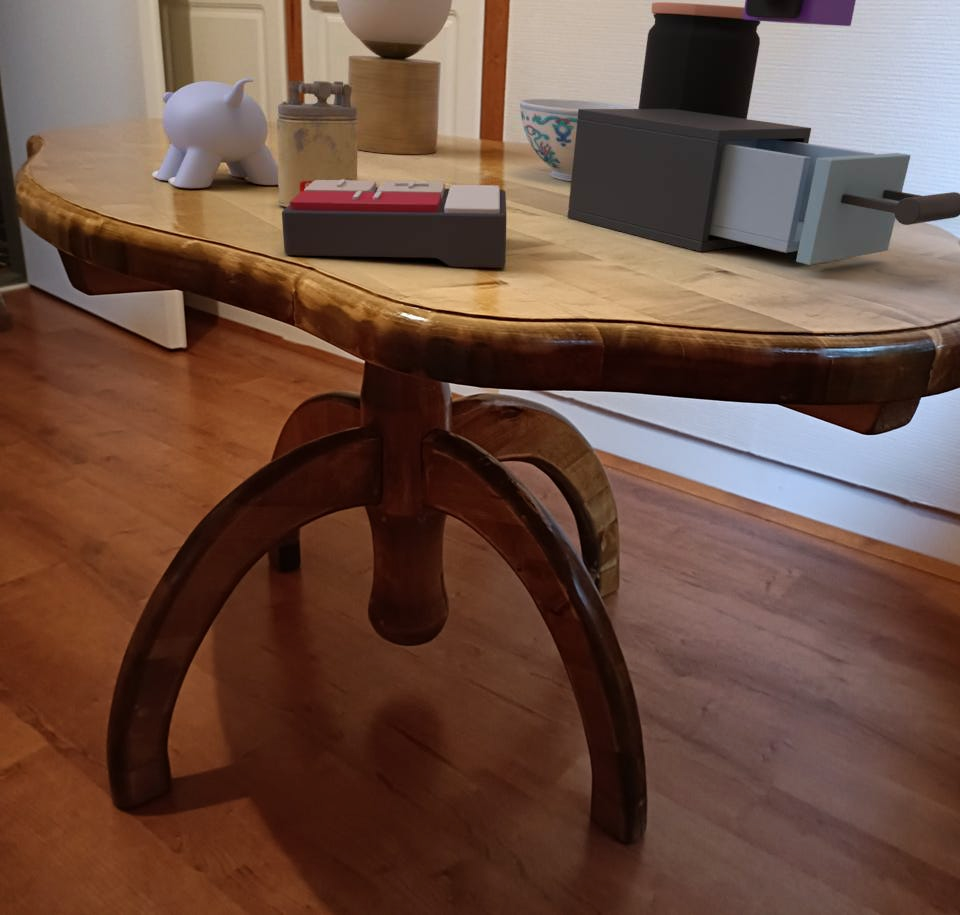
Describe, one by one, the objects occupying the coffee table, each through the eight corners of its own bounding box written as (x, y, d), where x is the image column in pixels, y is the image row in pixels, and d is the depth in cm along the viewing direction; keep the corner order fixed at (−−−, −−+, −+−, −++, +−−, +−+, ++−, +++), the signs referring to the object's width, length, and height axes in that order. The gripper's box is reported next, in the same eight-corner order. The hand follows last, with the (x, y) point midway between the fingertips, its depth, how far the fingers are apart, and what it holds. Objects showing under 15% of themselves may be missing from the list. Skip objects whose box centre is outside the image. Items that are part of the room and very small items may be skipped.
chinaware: (519, 184, 101) (525, 106, 97) (510, 164, 114) (515, 95, 111) (660, 193, 101) (671, 116, 98) (634, 172, 115) (643, 104, 112)
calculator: (309, 175, 73) (505, 178, 73) (312, 232, 75) (504, 235, 75) (279, 199, 63) (507, 203, 63) (283, 264, 65) (505, 268, 65)
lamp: (332, 136, 128) (332, -77, 118) (436, 141, 131) (446, -66, 121) (337, 151, 115) (339, -88, 104) (454, 156, 117) (466, -76, 107)
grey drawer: (961, 267, 72) (989, 166, 69) (887, 284, 65) (914, 173, 62) (745, 219, 85) (760, 132, 82) (663, 229, 78) (676, 135, 75)
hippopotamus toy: (234, 165, 99) (230, 66, 96) (302, 189, 89) (300, 79, 85) (130, 168, 93) (121, 63, 89) (189, 195, 83) (182, 76, 79)
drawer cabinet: (789, 238, 83) (811, 127, 79) (700, 252, 75) (720, 130, 71) (658, 208, 92) (672, 108, 89) (567, 217, 85) (578, 108, 81)
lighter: (288, 211, 79) (286, 81, 75) (269, 203, 82) (266, 77, 78) (364, 207, 83) (366, 83, 79) (344, 199, 86) (345, 79, 82)
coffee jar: (741, 200, 101) (774, 12, 94) (720, 213, 92) (755, 7, 85) (643, 187, 105) (667, 5, 97) (614, 199, 96) (638, 0, 88)
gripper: (849, -470, 40) (769, 15, 47) (1016, -354, 50) (928, 28, 58) (702, -421, 45) (651, 9, 52) (882, -325, 55) (817, 23, 63)
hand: (797, 15), depth 55 cm, fingers closed on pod, 4 cm apart
